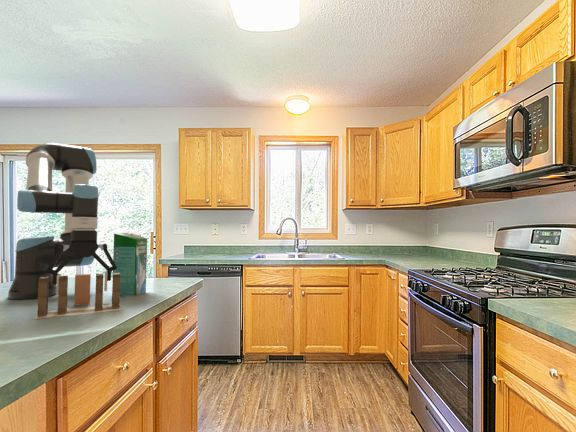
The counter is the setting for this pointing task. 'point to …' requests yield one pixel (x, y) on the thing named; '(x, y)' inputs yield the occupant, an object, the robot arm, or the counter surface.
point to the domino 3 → (99, 292)
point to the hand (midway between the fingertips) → (82, 292)
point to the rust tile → (82, 289)
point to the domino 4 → (116, 291)
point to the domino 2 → (62, 295)
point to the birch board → (78, 311)
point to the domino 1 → (43, 296)
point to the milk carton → (130, 262)
